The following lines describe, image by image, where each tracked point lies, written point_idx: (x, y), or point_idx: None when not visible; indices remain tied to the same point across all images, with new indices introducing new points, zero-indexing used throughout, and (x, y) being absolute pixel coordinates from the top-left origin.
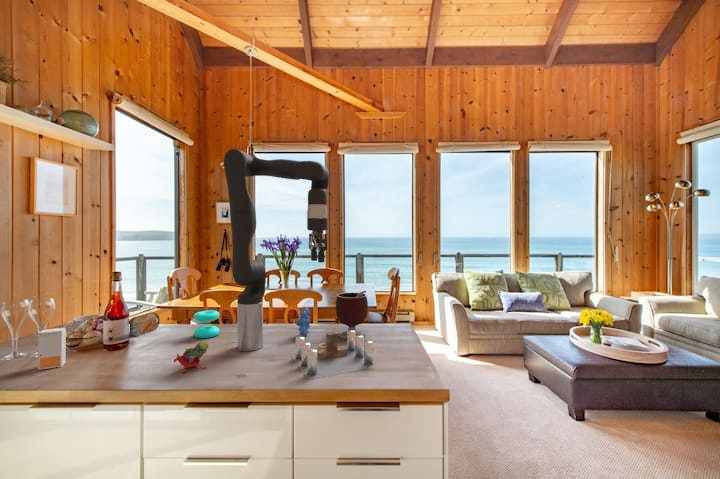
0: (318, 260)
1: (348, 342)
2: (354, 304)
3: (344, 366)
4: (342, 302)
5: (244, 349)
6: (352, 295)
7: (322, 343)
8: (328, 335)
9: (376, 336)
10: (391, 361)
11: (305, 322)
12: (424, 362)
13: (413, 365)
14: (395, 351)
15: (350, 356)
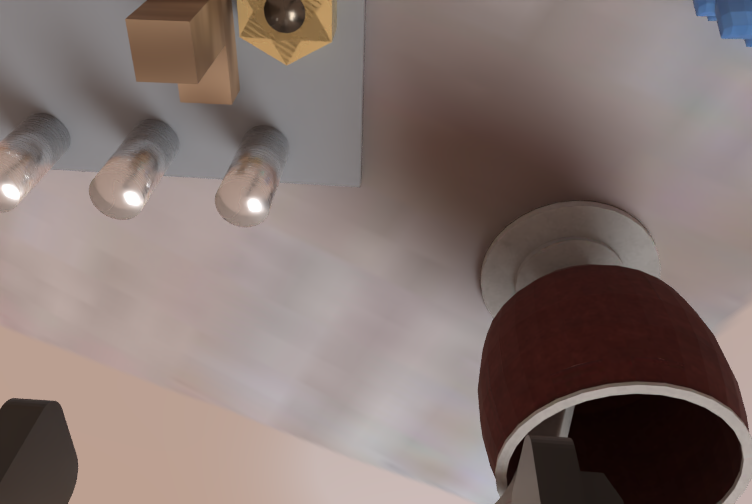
0: (4, 420)
1: (246, 148)
2: (492, 403)
3: (28, 4)
4: (567, 359)
5: None
6: (706, 495)
7: (327, 6)
8: (142, 17)
9: (457, 356)
10: (89, 242)
11: (718, 25)
12: (44, 337)
13: (22, 289)
14: (207, 317)
15: (167, 98)
